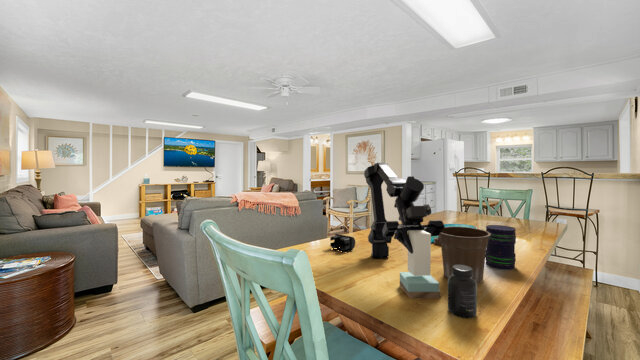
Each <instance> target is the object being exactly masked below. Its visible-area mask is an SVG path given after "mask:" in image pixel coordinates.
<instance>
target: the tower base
mask: <svg viewBox="0 0 640 360" xmlns="http://www.w3.org/2000/svg"><path fill="white" fill-rule="evenodd" d="M399 287H400V288H401V290H402V291H403V292H404V293H405V294H406V295H407V296H408V297H409V299H410V300H417V299H421V300H422V299H440V298H442V297H441V296H442V292H441V290H440V289H439V292H408V291H407V289H406V288H405V286H404V285H403V284H402V282H401V281H400V280H399Z"/></svg>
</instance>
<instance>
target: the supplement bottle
mask: <svg viewBox="0 0 640 360" xmlns="http://www.w3.org/2000/svg"><path fill="white" fill-rule="evenodd" d="M452 274H453V275H451V276H450V277H449V278H447V310H448V312H449V313H450V314H452V315H453V316H455V317H458V318H462V319H472V318H475V317H476V316H477V313H478V312H477V309H478V283H477V282H476V280H475V279H474V278H472V277H473V269H472V268H471V267H469V266H466V265H453V266H452Z"/></svg>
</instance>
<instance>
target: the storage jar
mask: <svg viewBox="0 0 640 360" xmlns="http://www.w3.org/2000/svg"><path fill="white" fill-rule="evenodd" d="M516 230H517V229H516V228H515V227H513V226H508V225H502V224H500V225H499V224H488V225H486V226H485V231H487V232H489V233H490V237H489V239H488V246H487V247H486V255H485V266H487V267H489V268H492V269H494V270H500V271H513V270H515V269H516V258H517V257H516V252H515V250H516V249H515V247H516V246H515V245H516V244H517V243H516V242H517V232H516Z"/></svg>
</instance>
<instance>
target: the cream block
mask: <svg viewBox="0 0 640 360" xmlns="http://www.w3.org/2000/svg"><path fill="white" fill-rule="evenodd" d="M408 237H409V239H410V242H411V245H412V248H413V254H411V253H410V252H409V251H408V250H407V272H410V273H412V274H413V275H414V276H428V275H431V261H432V254H431V253H432V252H431V250H432V249H431V248H432V247H431V245H432V236H431V234H430V233H428V232H426V231H424V230H414V231H408Z"/></svg>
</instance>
